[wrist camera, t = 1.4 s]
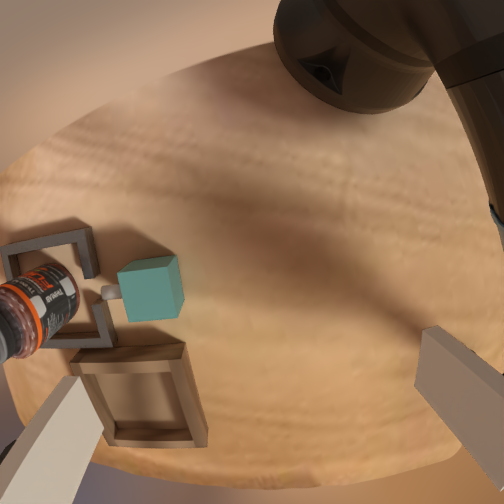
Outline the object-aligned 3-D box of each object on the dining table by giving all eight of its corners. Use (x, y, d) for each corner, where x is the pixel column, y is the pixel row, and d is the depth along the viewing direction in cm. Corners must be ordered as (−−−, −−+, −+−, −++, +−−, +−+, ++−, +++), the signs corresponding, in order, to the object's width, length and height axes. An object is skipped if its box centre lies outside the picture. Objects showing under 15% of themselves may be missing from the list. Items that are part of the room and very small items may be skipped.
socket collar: (91, 226, 24) (84, 228, 23) (117, 340, 27) (113, 347, 25) (7, 244, 24) (-1, 246, 23) (35, 342, 26) (28, 348, 25)
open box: (185, 342, 27) (181, 359, 24) (208, 428, 30) (207, 447, 27) (81, 348, 27) (69, 362, 24) (115, 429, 29) (108, 445, 26)
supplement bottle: (78, 262, 25) (5, 304, 14) (86, 321, 26) (28, 384, 15) (31, 260, 25) (-44, 295, 14) (40, 316, 26) (-23, 368, 15)
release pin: (176, 254, 25) (167, 266, 21) (184, 299, 26) (177, 317, 22) (107, 264, 25) (88, 276, 21) (117, 306, 26) (101, 324, 22)
